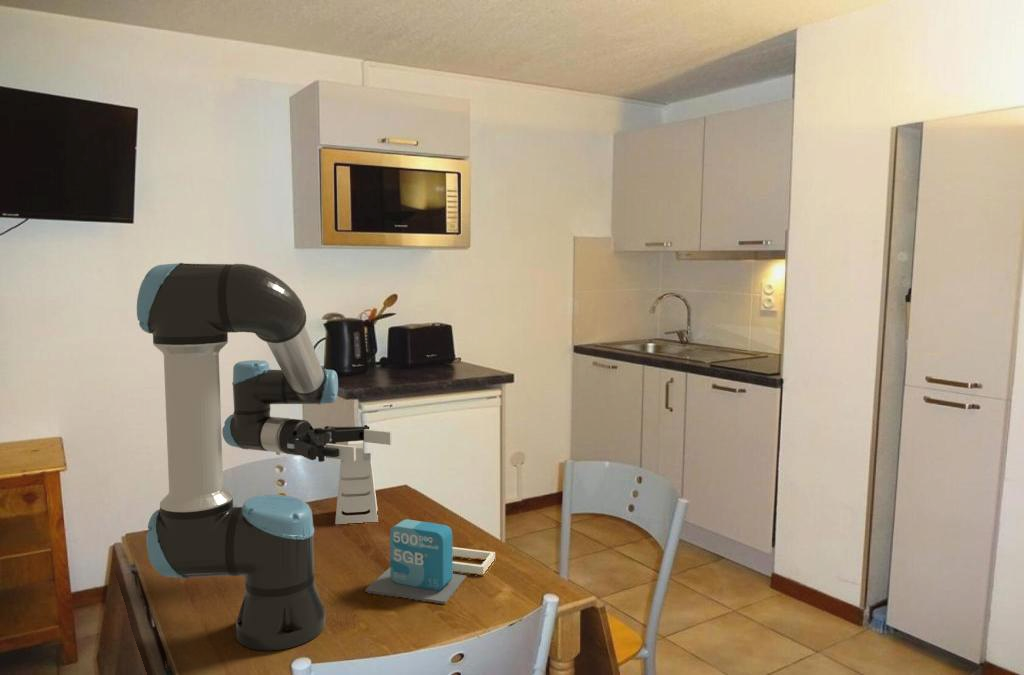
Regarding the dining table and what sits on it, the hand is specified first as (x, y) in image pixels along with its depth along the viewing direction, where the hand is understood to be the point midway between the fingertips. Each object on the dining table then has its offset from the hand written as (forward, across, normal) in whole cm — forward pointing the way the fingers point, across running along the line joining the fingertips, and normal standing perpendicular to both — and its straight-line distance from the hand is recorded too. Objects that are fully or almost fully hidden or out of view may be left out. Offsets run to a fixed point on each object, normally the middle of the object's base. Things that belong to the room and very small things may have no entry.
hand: (373, 445), depth 145 cm
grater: (-24, -29, -28) cm, 47 cm away
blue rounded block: (+11, 0, -28) cm, 30 cm away
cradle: (+13, -12, -28) cm, 33 cm away
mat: (+10, 0, -28) cm, 30 cm away
